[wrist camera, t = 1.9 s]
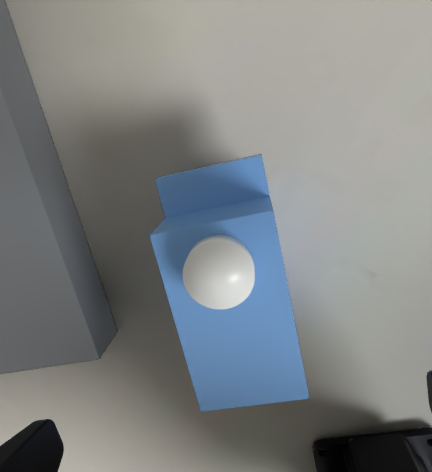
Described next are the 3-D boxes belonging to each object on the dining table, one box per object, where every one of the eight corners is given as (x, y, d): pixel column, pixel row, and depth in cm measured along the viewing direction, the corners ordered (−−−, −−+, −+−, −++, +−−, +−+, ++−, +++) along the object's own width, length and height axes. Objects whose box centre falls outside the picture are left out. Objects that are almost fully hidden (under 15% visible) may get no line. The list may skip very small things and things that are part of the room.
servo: (297, 345, 19) (319, 450, 13) (220, 356, 19) (207, 462, 13) (259, 148, 16) (265, 164, 10) (172, 168, 17) (128, 194, 11)
